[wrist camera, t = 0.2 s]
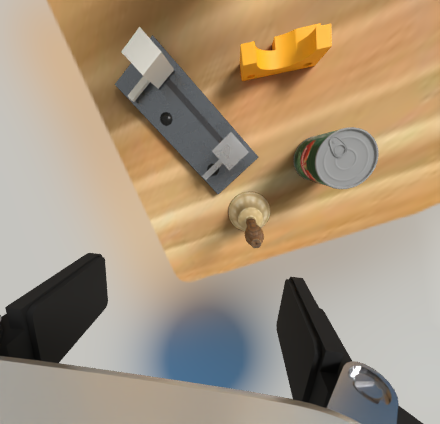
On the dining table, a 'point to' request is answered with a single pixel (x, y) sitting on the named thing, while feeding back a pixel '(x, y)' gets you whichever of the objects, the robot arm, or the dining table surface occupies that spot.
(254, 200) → the hand bell
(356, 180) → the canned tomato
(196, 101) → the plate
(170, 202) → the dining table surface
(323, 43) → the pipe clamp
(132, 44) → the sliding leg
